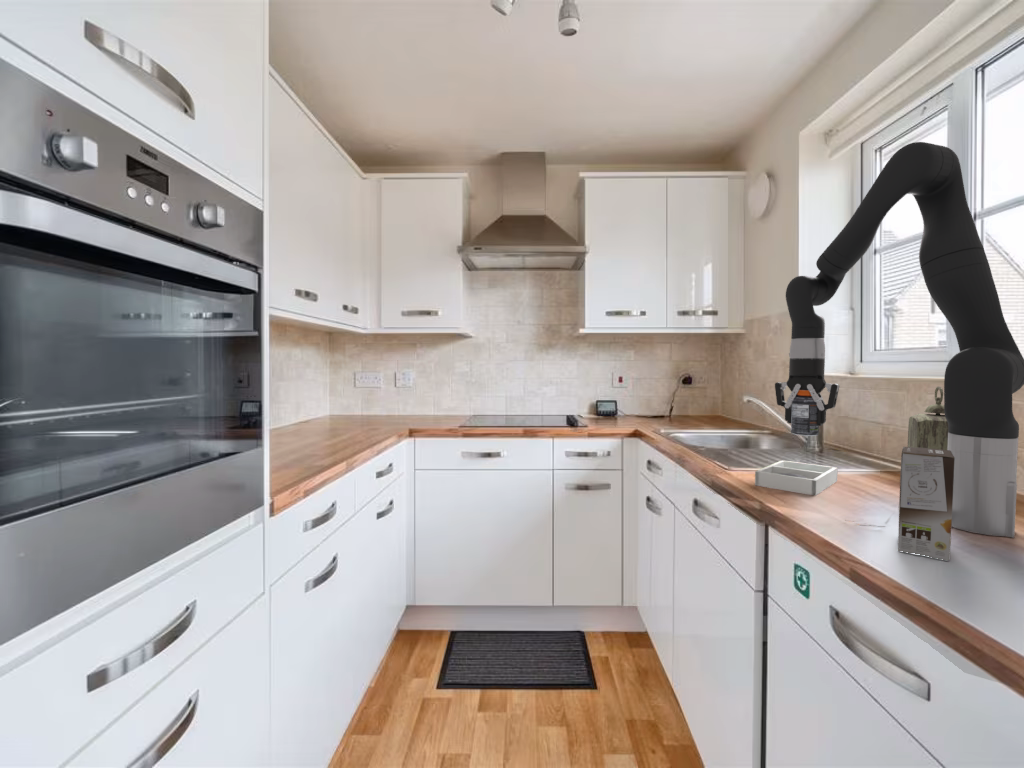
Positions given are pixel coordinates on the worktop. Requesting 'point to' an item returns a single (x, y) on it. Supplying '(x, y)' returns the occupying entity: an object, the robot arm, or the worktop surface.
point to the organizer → (812, 484)
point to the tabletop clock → (929, 427)
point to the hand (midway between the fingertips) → (804, 424)
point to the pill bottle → (804, 415)
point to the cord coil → (792, 475)
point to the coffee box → (926, 502)
